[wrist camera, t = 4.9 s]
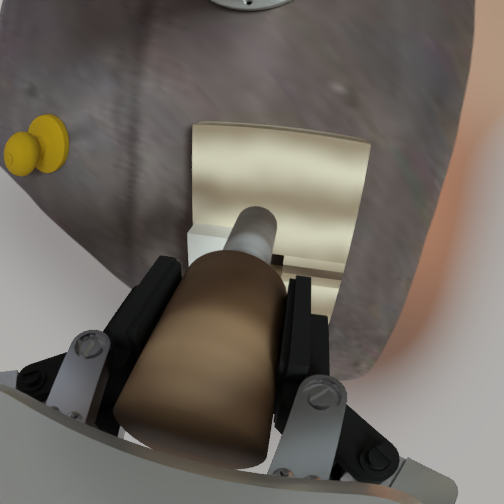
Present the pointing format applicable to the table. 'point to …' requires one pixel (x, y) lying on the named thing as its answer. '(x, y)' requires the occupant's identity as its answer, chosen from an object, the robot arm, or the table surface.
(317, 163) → the cream slotted tray
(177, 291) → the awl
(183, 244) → the table surface
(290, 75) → the table surface
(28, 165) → the doorknob
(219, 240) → the block
